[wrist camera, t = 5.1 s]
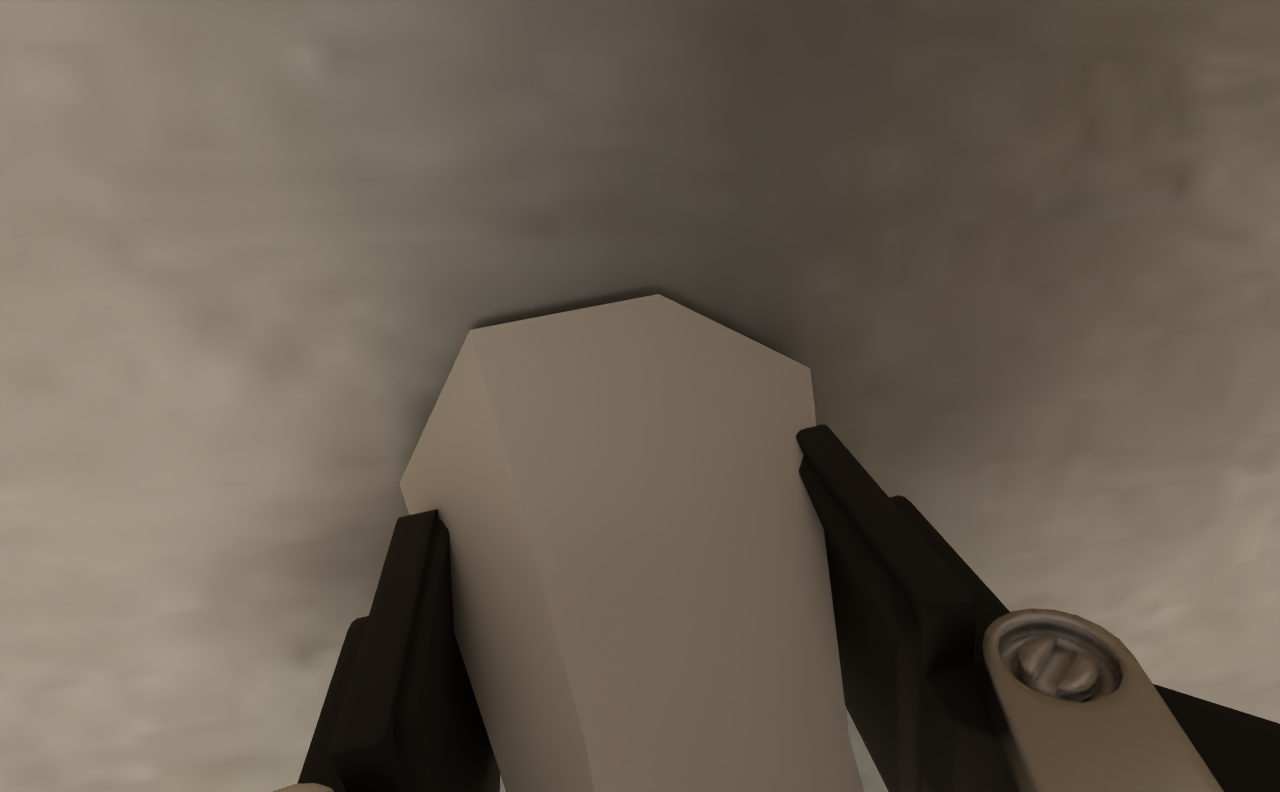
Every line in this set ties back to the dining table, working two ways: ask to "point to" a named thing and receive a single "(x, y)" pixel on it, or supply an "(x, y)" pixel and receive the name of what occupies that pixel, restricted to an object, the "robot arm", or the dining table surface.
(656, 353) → the flask
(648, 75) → the dining table surface
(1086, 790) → the robot arm
